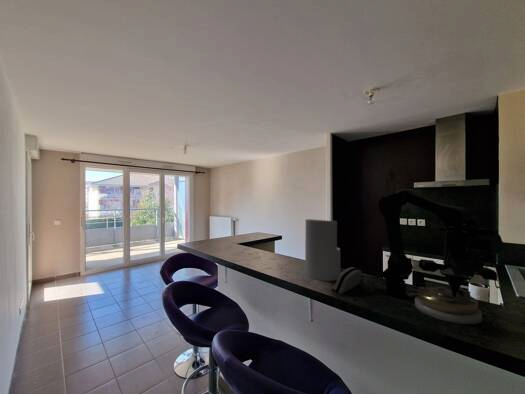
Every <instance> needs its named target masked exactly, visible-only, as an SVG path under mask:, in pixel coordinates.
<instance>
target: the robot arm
mask: <svg viewBox="0 0 525 394" xmlns="http://www.w3.org/2000/svg"><path fill="white" fill-rule="evenodd" d="M407 204H411V205H413V206H414V207H418V208H419V209H422V210H424V211H426V212H428V213H431V214H432V215H433V216H435V217H436V218H437V219H438V220H439V221H440V222H442V223H443V225H442V226H440V227H439V228H438V229H437V231H439V232H445V233H444V247H443V252H444V254H443V255H444V256H443V260H442V263H437V262H436V261H434V260H431V259H423V258H420V259H419V260H418V268H420V269H421V271H424V272H431V273H436V272H437V271H439V273H440V274H441V275H443V276H444V277H445V279H446V281H447V284H448V286H449V290H451V292H452V296H453V297H456V293H457V292H458V290H459V288H461V287H462V285H463V283H465V282H466V281H467V280H469V281H470V280H472V278H474V277H475V276H481V278H482V279H483V280H487V281H488V280H490V281H496V282H497V281H498V273H497V271H496V270H494V269H492V268H489V267H487V266H485V265H484V263H485V262H484V261H483V260H479V259H471V258H470V252H468V250H469V249H470V250H473V251H479V252H484V253H490V254H494V255H498V254H500V253H501V251H502V249H503V244H504V241H503V239H502V237H501V235H500V234H499V229H497V228H495V229H494V228H482V227H481V226H480V225H479V224H478V223H477V221H476V220H475V219H474V218H473V215H472V213H471V211H470V210H469V209H468V208H466V207H462V206H461V207H460V206H457V205H452V204H445V203H441V202H440V201H437V200H434V199H432V198H429V197H426V196H424V195H421V194H419V193H417V192H414V191H412V190H408V189H407V190H406V189H405V190H401V191H398V192H397V193H393V194H390V195H387V196H382V197H381V198H380V199H379V200H378V203H377V206H378V209H379V213H380V214H381V215H382V216H383V218H384V221H385V226H386V227H385V228H386V233H387V239H388V245H389V256H388V259H387V268H386V269H385V270H384V271H382V272H381V276H382V279H384V280H385V290H383V293H384V294H386V295H388V296H391V297H393V298H395V299H396V298H397V299H400V298H405V297H409V294H407V284H406V280H409V278H410V276H411V274H413V269H414V266H413V260H412V258H411V257H408V256H407V255H406V253H405V250H404V243H403V236H402V231H401V225H400V215H401V213H402V207H403V206H405V205H407ZM468 247H469V249H468Z"/></svg>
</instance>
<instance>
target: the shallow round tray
mask: <svg viewBox="0 0 525 394" xmlns="http://www.w3.org/2000/svg"><path fill="white" fill-rule="evenodd" d="M417 296H418V300H419V301H420V302H421V303H422V304H424V305H426V306H428V307H430V308H433V309H435V310H439V311H442V312H446V313H451V314H458V315H474V314H476V313H477V312H478V309H479V307H478V303H479V301H478V300H477V299H476V298H475V297H473V296H471V291H469V290H466V289H464V288H462V287H460V288H459V290H458V292H457V293H456V297H453V296H452V292H451V289H450V288H449V289H448V288H445V287H444V286H438V285H437V286H436V287H433V286H429V287H428V286H426V287H425V286H424V287H423V286H419V287H418V290H417Z"/></svg>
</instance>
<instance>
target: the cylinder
mask: <svg viewBox="0 0 525 394" xmlns="http://www.w3.org/2000/svg"><path fill="white" fill-rule="evenodd" d="M304 242H305V254H304V255H305V257H304V258H305V259H304V261H305V264H304V265H305V268H304V269H305V270H304V274H305V276H306V277H307V278H309V279H313V280H317V281H322V282H327V281H328V282H330V281H337V279H338V277H339V275H340V273H341V248H340V247H338V220H326V219H325V220H323V219H313V218H311V219H310V218H309V219H305V241H304Z"/></svg>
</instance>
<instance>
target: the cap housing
mask: <svg viewBox="0 0 525 394" xmlns="http://www.w3.org/2000/svg"><path fill="white" fill-rule="evenodd" d="M414 307H415V308H416V309H417V310H418V311H419V312H421V313H423V314H425V315H426V316H429V317H432V318H435V319H437V320H440V321H441V320H442V321H444V322H449V323H453V324H461V325H478V324H480V323H482V322H483V312H482V310H481V309H479V308H478V312H477V313H476V314H474V315H458V314H451V313H446V312H442V311H439V310H435V309H433V308H430V307H428V306H426V305H424V304H422V303H421V302H420V301H419V300H418V295H417V296H415V298H414Z"/></svg>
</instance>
